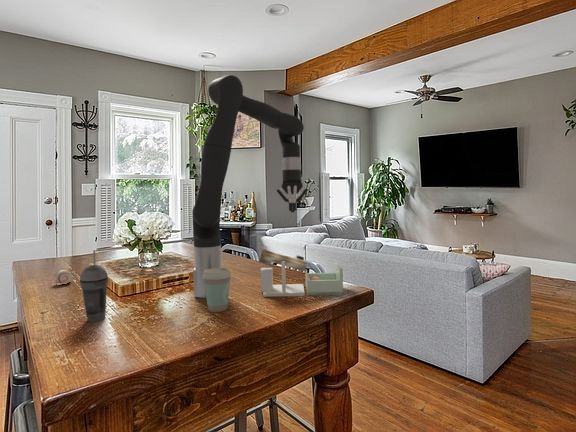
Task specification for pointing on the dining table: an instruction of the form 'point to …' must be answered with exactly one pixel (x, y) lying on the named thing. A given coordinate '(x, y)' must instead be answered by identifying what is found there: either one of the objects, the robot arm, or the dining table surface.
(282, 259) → the lever trough
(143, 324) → the dining table surface
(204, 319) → the dining table surface
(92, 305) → the beverage cup
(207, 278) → the coffee cup
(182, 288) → the dining table surface
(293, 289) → the stand
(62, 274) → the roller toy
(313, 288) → the cup
